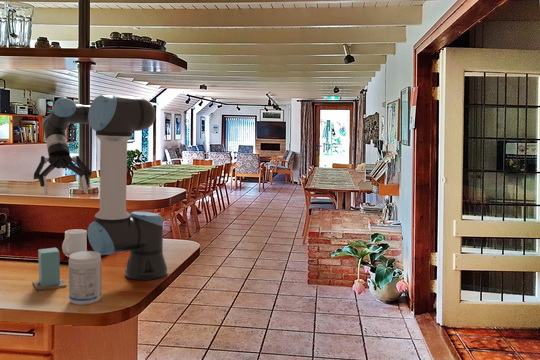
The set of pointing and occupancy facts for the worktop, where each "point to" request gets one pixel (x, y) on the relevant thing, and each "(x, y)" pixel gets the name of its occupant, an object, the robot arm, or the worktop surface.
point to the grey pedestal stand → (39, 287)
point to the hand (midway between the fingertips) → (66, 191)
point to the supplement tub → (85, 277)
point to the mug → (74, 241)
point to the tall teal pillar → (49, 266)
